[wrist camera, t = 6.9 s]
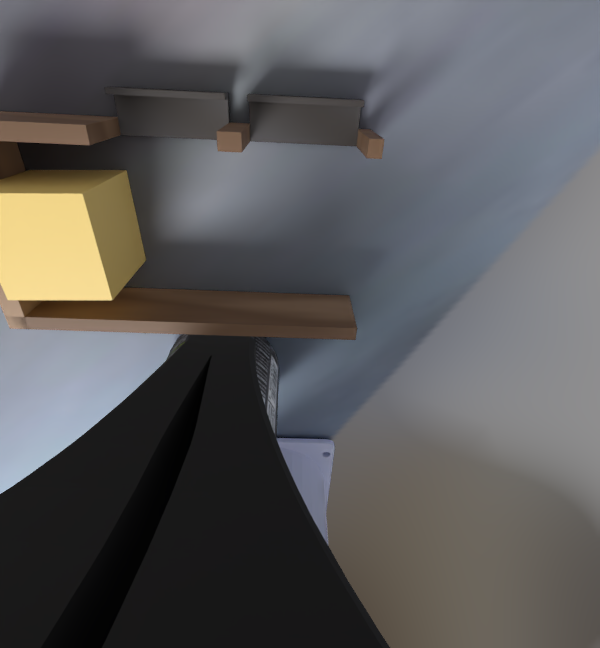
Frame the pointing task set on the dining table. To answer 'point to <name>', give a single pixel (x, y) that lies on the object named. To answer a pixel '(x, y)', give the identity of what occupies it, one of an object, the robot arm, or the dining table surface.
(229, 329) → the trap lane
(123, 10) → the dining table surface
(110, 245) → the ochre block
